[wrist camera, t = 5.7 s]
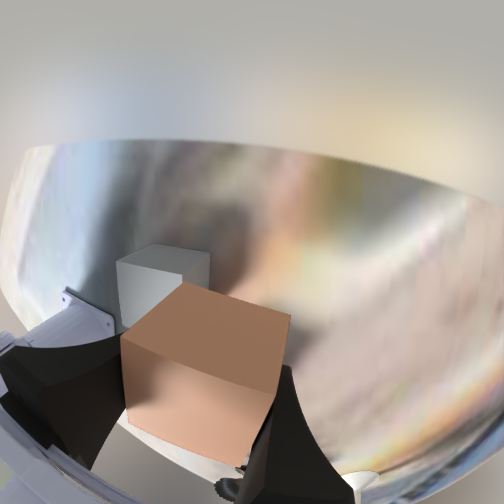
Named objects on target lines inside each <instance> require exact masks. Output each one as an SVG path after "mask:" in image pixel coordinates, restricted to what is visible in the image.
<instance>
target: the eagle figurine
mask: <svg viewBox="0 0 504 504" xmlns="http://www.w3.org/2000/svg"><path fill="white" fill-rule="evenodd" d="M235 469H236V471H238V473H241V474H242V475H244V474H245V471H243V470H241V469H239V468H237V467H235ZM242 480H243V479H242V478H239V479H233V478H221V479H220V481H217V482H216V484H214V487H216V488H215V491H216V492H217V494H219V496H220V497H223V499H226V500H227V501H231V502H235V499H236V497H237V494H238V491H239V488H240V485H241V482H242Z"/></svg>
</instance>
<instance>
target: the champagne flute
mask: <svg viewBox="0 0 504 504" xmlns="http://www.w3.org/2000/svg"><path fill="white" fill-rule="evenodd" d="M341 477H342V478H343V479H344V480H345V481H346V482H347V483H348V484H349V485H350V486H351V487H352V488H353V490H354V496H355V504H361V491H362V490H364V489H366V488H367V487H369V486H371V485H372V484H374V483H375V482H377V481H378V480H379V478H380V476H379V474H378V473H376V472H372V471H359V472H353V473H349V474H345V475H343V476H341Z"/></svg>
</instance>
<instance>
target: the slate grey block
mask: <svg viewBox="0 0 504 504" xmlns="http://www.w3.org/2000/svg"><path fill="white" fill-rule="evenodd" d="M210 259H211V253H210V252H204V251H198V250H192V249H186V248H179V247H173V246H167V245H161V244H155V243H152V244H150V245H148V246H146V247H144V248H142V249H140V250H137V251H135V252H133V253H131V254H129V255H127V256H125V257H123V258H121V259H118V260H116V271H117V283H118V294H119V303H120V312H121V319H122V326H125V327H128V328H130V327H131V326H133V325H134V324H135V323H136V322H137V321H138V320H140V319H141V318H142V317H143V316H144V315H145V314H147V313H148V312H149V311H150V310H151V309H152V308H154V307H155V306H156V305H157V304H158V303H159V302H161V301H162V300H163V299H164V298H165V297H166V296H168V295H169V294H170V293H171V292H172V291H173V290H175V289H176V288H177V287H178V286H179V285H181V284H182V283H183V282H187V283H190V284H193V285H196V286H199V287H202V288H205V289H208V290H209V278H210Z"/></svg>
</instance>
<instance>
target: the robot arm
mask: <svg viewBox="0 0 504 504" xmlns="http://www.w3.org/2000/svg"><path fill="white" fill-rule="evenodd" d="M61 302H62V311H61V312H59V313H57V314H56V315H54V316H53V317H51V318H49V319H48V320H46V321H45V322H43V323H41V324H40V325H38V326H37V327H35V328H34V329H32V330H31V331H29V332H27V333H26V334H24V335H23V336H21V337H20V338H17V339H15V337H14V335H13V334H12V333H9V332H7V331H4V332H2V333H0V459H1V460H2V461H3V462H4V463H5V465H6V466H8V468H9V469H10V470H11V471H12V472H13V473H14V474H15V476H13V478H12V479H11V480H10V481H9V482H8V483H7V484H6V485H5V486H4V488H3V489H2V490H1V491H0V504H105V503H103V502H101V501H100V500H98V499H96V498H95V497H93V496H92V495H90V494H88V493H87V492H85V491H84V490H82V489H81V488H80V487H78V486H77V485H75V484H74V483H72V482H71V481H70V480H68V479H67V478H66V477H64V475H63V473H62V472H61V471H60V470H62V471H63V472H64V473H66V474H67V475H68V476H70V477H71V478H72V479H74V480H75V481H77V482H78V483H80V484H81V485H82V486H84V487H86V488H87V489H88V490H90V491H92V492H93V493H95V494H96V495H98V496H99V497H101V498H103V499H104V500H106V501H108V502H110V503H111V504H148V503H146V502H144V501H142V500H140V499H137V498H136V497H134V496H132V495H130V494H128V493H126V492H124V491H122V490H120V489H118V488H117V487H115V486H113V485H111V484H110V483H108V482H106V481H104V480H103V479H101V478H100V477H98V476H97V475H95V474H93V473H92V472H90V470H91V468H92V466H93V464H94V461H95V460H96V457H97V455H98V453H99V451H100V450H101V448H102V446H103V444H104V442H105V440H106V438H107V436H108V435H109V433H110V431H111V430H112V428H113V427H114V425H115V423H116V422H117V420H118V419H119V417H120V416H121V414H122V413H123V411H124V410H125V408H126V402H125V394H124V385H123V374H122V361H121V343H120V336H121V335H122V334H123V333H125V332H123V333H121V334H118V335H115V331H114V319H113V317H112V316H111V315H109V314H107V313H105V312H103V311H101V310H99V309H97V308H95V307H93V306H91V305H89V304H88V303H86V302H84V301H82V300H80V299H78V298H77V297H75V296H73V295H71V294H70V293H68V292H66V291H62V292H61ZM52 463H53V464H52ZM57 467H58V468H59V469H60V470H59V469H58V468H57ZM234 504H355V496H354V490H353V488H352V487H351V486H350V485H349V484H348V483H347V482H346V481H345V480H344V479H343V478H342V477H341V476H340V475H339V474H338V473H337V471H336V470H335V469H334V468H333V466H332V465H331V464H330V463H329V461H328V460H327V458H326V457H325V455H324V454H323V452H322V451H321V449H320V448H319V446H318V444H317V443H316V441H315V439H314V437H313V435H312V433H311V431H310V429H309V427H308V425H307V423H306V420H305V418H304V415H303V413H302V410H301V407H300V404H299V401H298V397H297V394H296V390H295V386H294V382H293V377H292V370H291V368H290V366H286V365H283V364H282V367H281V372H280V377H279V382H278V387H277V392H276V396H275V398H274V400H273V403H272V405H271V407H270V409H269V411H268V413H267V415H266V418H265V420H264V422H263V424H262V426H261V428H260V430H259V432H258V434H257V436H256V438H255V440H254V442H253V444H252V449H251V453H250V458H249V461H248V464H247V467H246V471H245V474H244V477H243V480H242V482H241V485H240V488H239V491H238V494H237V497H236V499H235V502H234Z"/></svg>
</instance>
